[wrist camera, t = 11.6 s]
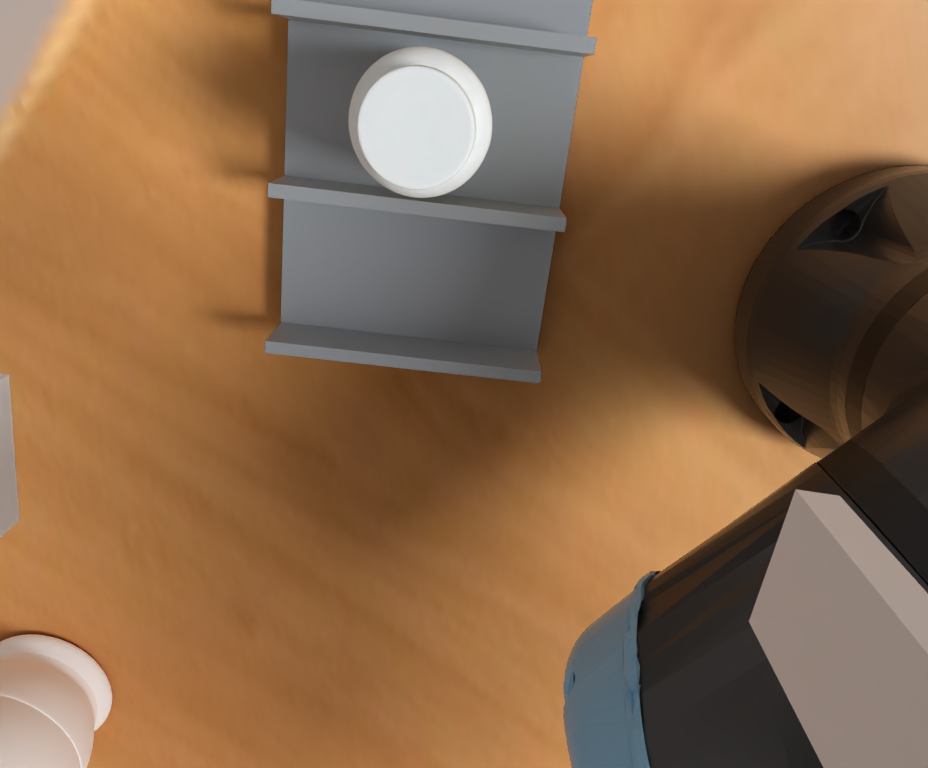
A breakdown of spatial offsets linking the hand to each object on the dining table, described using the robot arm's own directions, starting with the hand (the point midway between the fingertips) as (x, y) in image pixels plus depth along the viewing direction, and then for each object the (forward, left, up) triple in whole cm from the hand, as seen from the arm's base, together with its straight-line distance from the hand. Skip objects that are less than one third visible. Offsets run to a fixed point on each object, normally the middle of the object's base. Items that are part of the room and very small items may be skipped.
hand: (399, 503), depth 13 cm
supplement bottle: (+1, -5, -25) cm, 26 cm away
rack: (+1, -5, -26) cm, 27 cm away
